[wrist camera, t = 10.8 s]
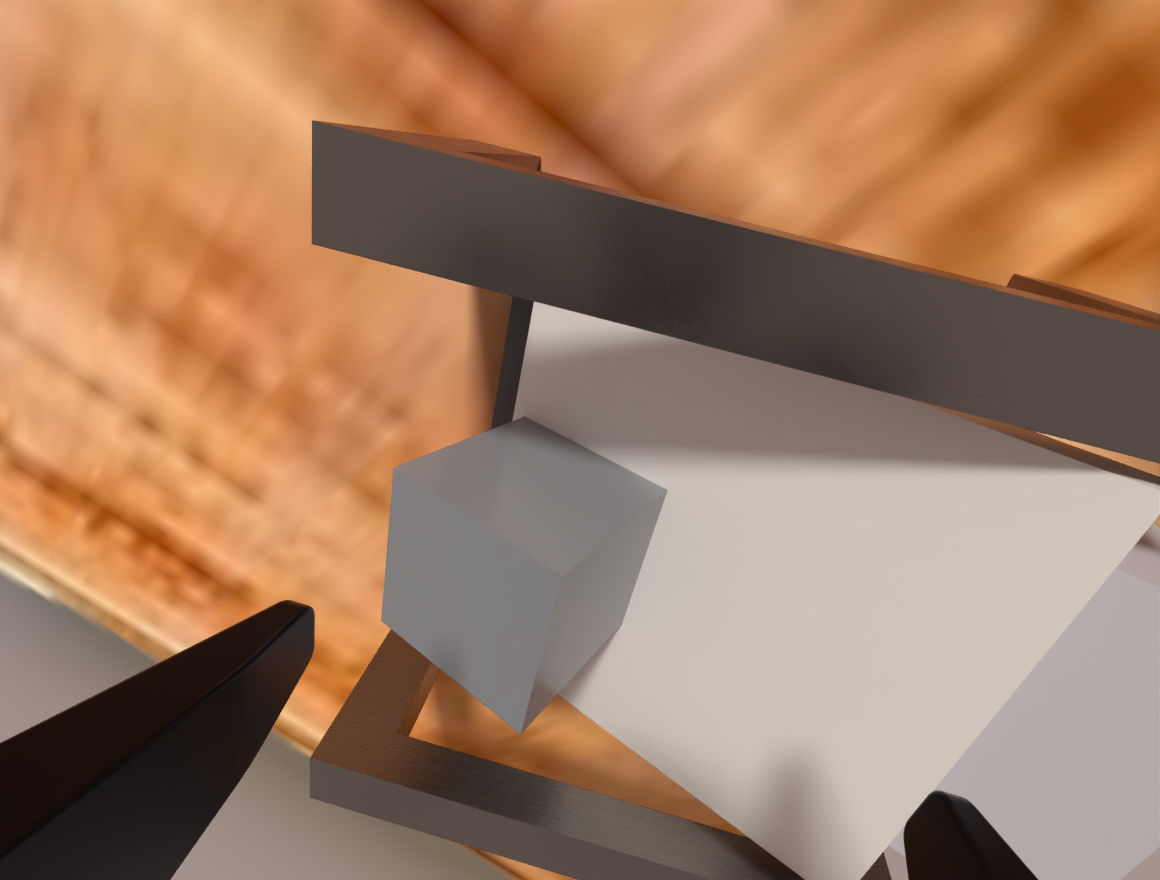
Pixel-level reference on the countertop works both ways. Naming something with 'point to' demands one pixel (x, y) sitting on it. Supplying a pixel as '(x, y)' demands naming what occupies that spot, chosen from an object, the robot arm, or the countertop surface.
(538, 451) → the grey matte cube
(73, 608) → the countertop surface
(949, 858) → the robot arm
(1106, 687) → the trapdoor
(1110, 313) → the frame
